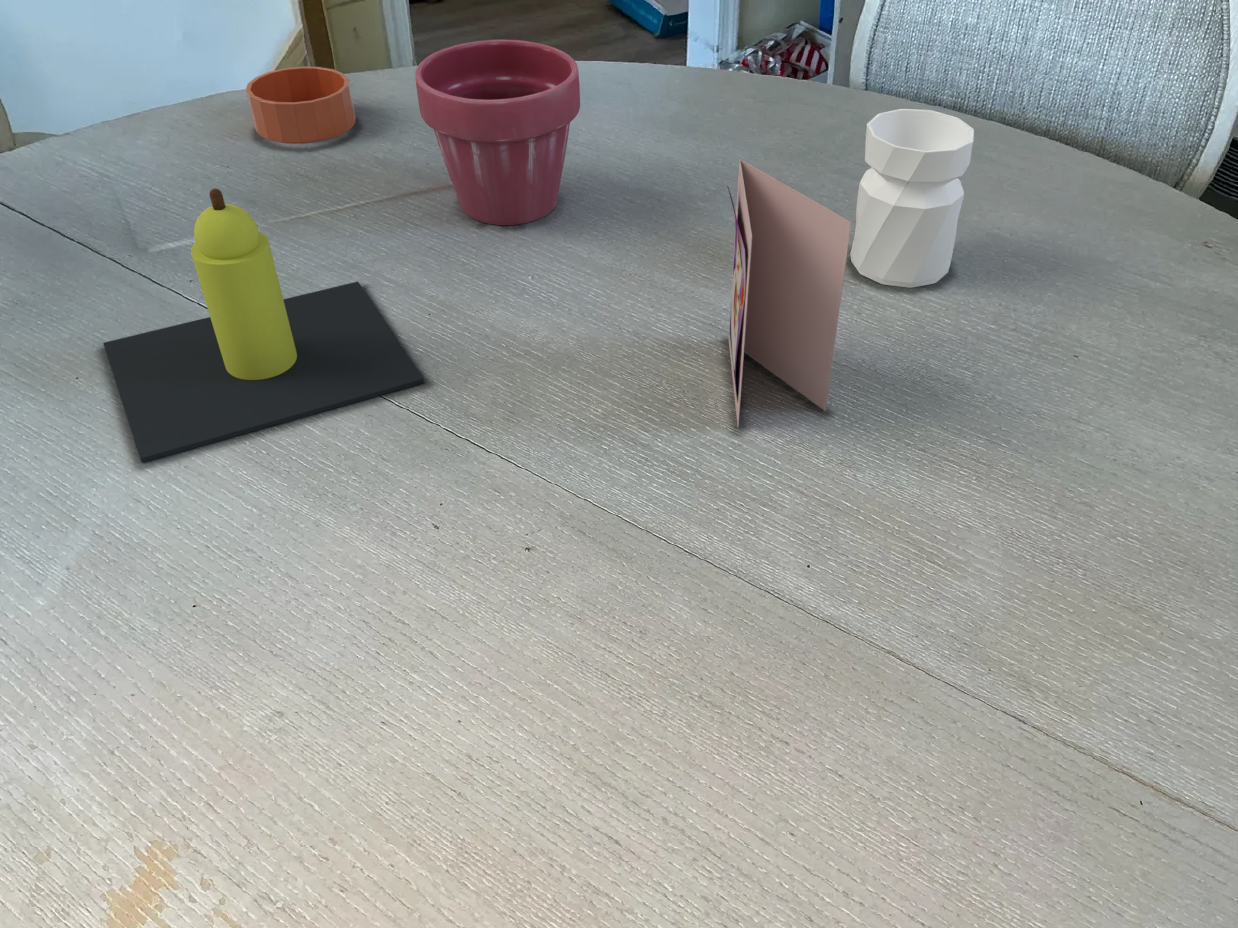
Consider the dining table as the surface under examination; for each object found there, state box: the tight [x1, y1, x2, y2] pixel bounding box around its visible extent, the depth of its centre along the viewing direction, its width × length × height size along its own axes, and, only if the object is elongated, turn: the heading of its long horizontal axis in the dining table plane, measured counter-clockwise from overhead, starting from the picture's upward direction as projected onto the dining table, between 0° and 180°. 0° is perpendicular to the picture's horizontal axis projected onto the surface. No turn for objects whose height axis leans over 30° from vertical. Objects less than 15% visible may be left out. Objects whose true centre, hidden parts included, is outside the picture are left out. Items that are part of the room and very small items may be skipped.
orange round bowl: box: [245, 66, 357, 144], centre depth 115 cm, size 10×10×4 cm
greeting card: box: [726, 158, 852, 429], centre depth 78 cm, size 11×7×15 cm, turn 1°
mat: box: [102, 281, 425, 463], centre depth 83 cm, size 20×16×1 cm
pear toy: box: [190, 188, 297, 380], centre depth 79 cm, size 5×5×14 cm
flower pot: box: [414, 39, 581, 226], centre depth 100 cm, size 14×14×13 cm
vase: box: [849, 108, 975, 289], centre depth 93 cm, size 9×9×12 cm
